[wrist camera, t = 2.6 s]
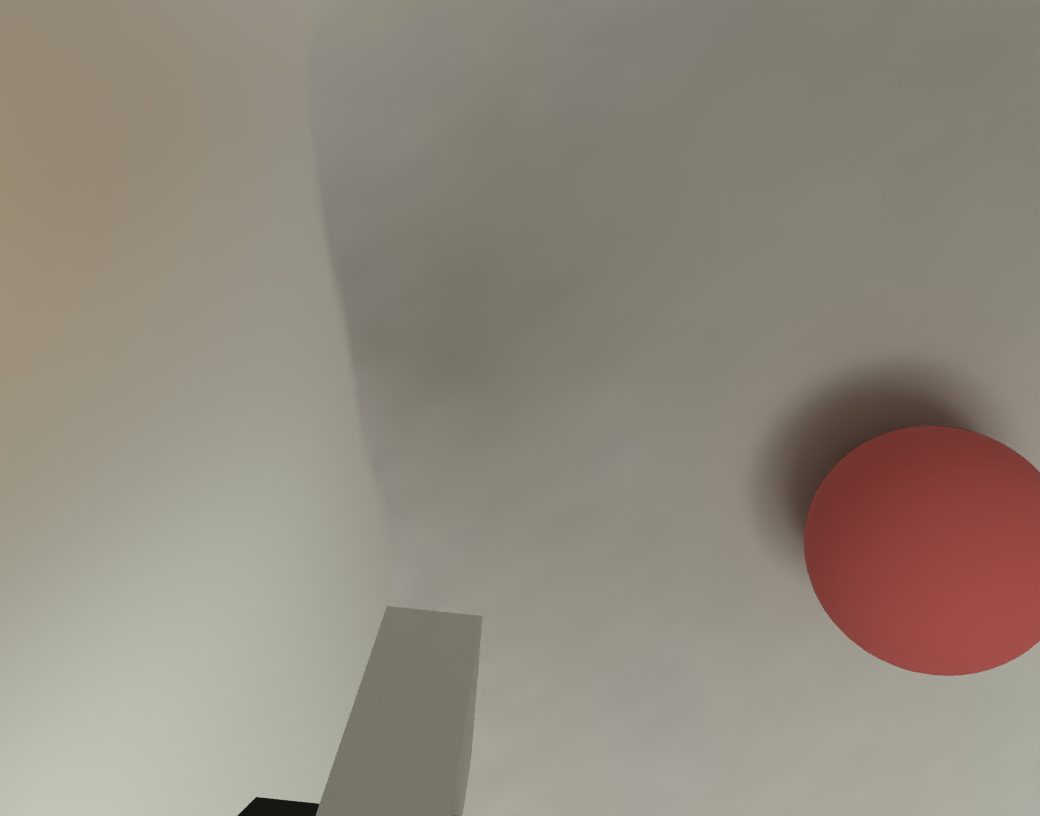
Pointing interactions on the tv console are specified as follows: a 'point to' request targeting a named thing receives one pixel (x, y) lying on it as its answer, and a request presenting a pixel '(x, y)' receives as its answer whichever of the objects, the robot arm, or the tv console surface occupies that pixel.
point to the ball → (930, 550)
